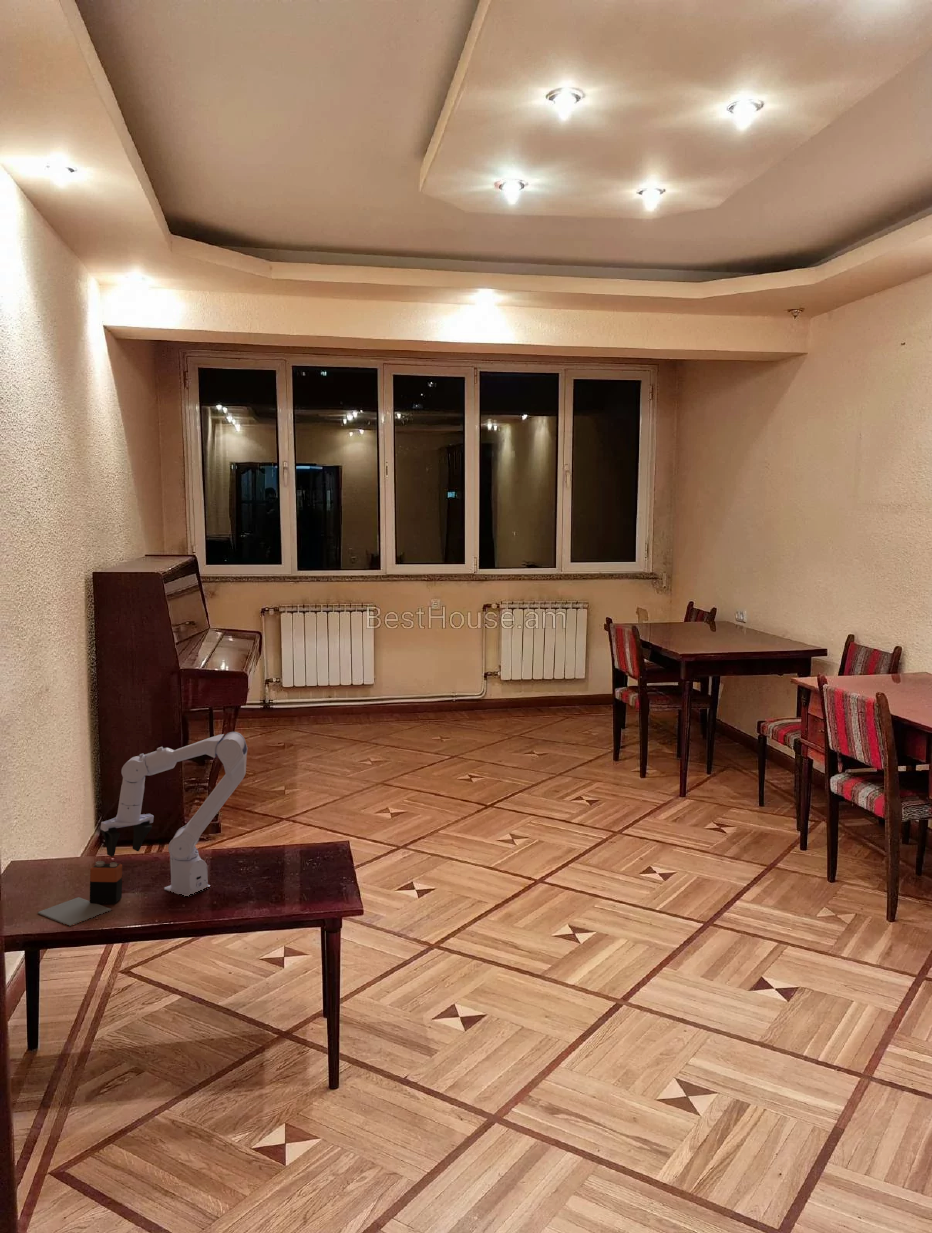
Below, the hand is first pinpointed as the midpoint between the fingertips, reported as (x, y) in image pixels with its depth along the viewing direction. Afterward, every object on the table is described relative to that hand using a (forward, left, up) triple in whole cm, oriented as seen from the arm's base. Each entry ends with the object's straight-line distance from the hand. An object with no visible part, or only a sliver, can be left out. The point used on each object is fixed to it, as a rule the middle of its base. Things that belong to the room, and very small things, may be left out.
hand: (123, 852), depth 228 cm
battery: (-2, +7, -11) cm, 13 cm away
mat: (-1, +15, -11) cm, 18 cm away
